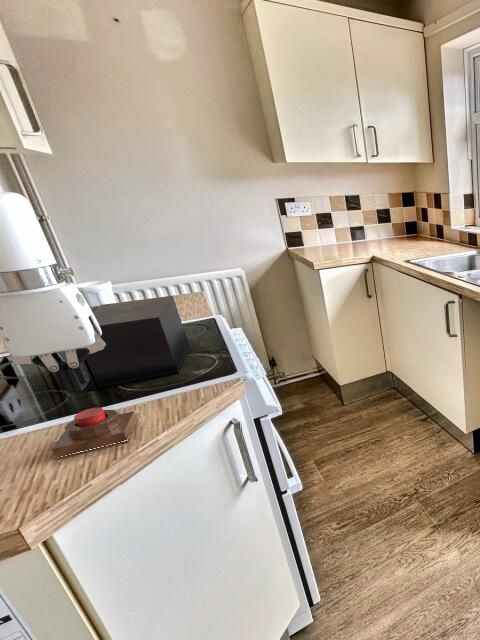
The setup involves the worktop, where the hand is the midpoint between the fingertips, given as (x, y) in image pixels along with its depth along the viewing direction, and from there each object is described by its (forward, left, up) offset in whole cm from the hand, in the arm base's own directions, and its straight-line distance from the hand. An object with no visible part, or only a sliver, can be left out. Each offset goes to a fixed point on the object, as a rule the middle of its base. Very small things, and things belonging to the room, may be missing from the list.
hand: (78, 388), depth 70 cm
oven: (+1, +34, -10) cm, 36 cm away
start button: (0, 0, -6) cm, 7 cm away
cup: (-14, +72, -10) cm, 74 cm away
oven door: (-9, +34, -10) cm, 37 cm away
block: (0, 0, -10) cm, 10 cm away
